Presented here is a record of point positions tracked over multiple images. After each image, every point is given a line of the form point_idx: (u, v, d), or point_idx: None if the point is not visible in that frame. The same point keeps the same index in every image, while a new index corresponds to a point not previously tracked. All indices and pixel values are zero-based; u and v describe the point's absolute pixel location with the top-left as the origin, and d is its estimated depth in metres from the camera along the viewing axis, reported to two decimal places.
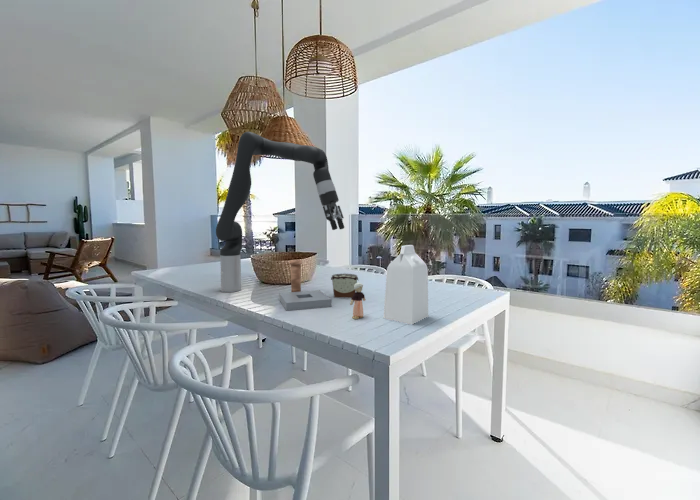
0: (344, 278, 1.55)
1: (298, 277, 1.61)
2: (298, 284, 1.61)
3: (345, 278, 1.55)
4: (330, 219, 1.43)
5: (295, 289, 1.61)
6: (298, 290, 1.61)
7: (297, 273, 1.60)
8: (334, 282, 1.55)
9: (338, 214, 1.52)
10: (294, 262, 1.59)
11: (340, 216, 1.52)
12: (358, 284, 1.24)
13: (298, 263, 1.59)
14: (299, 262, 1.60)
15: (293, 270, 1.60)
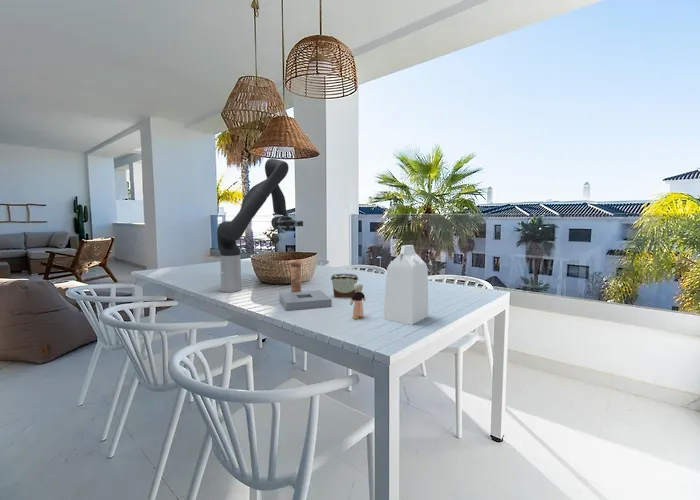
0: (344, 278, 1.55)
1: (298, 277, 1.61)
2: (298, 284, 1.61)
3: (345, 278, 1.55)
4: (301, 223, 1.76)
5: (295, 289, 1.61)
6: (298, 290, 1.61)
7: (297, 273, 1.60)
8: (334, 282, 1.55)
9: (282, 225, 1.75)
10: (294, 262, 1.59)
11: (281, 226, 1.74)
12: (358, 284, 1.24)
13: (298, 263, 1.59)
14: (299, 262, 1.60)
15: (293, 270, 1.60)
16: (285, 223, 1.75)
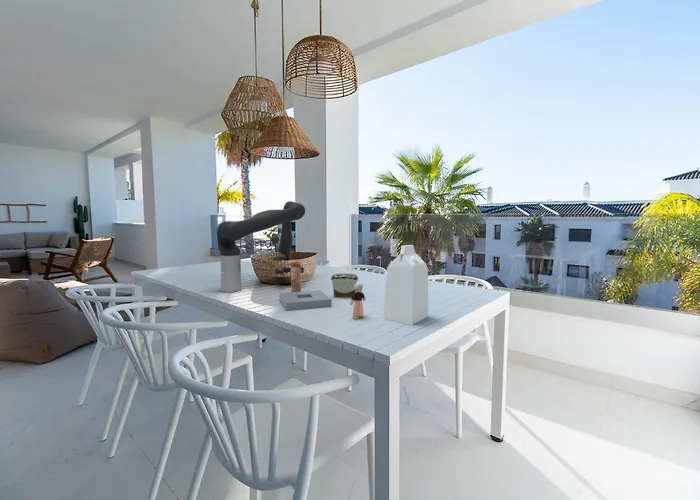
0: (344, 278, 1.55)
1: (298, 277, 1.61)
2: (298, 284, 1.61)
3: (345, 278, 1.55)
4: (302, 270, 1.78)
5: (295, 289, 1.61)
6: (298, 290, 1.61)
7: (297, 273, 1.60)
8: (334, 282, 1.55)
9: None
10: (294, 262, 1.59)
11: None
12: (358, 284, 1.24)
13: (298, 263, 1.59)
14: (299, 262, 1.60)
15: (293, 270, 1.60)
16: (286, 270, 1.77)
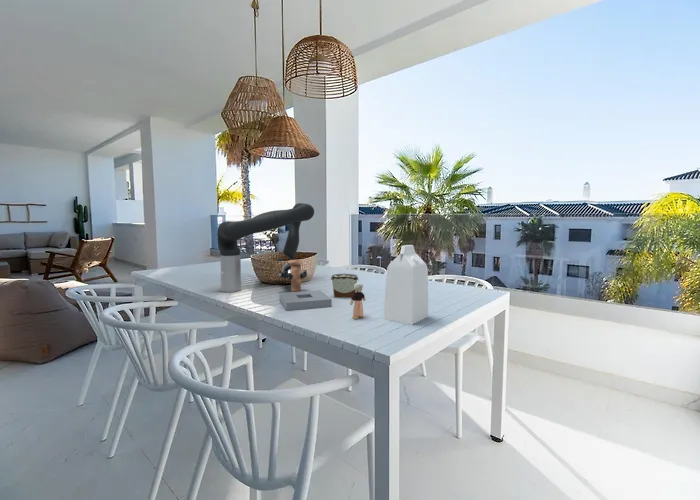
0: (344, 278, 1.55)
1: (298, 277, 1.61)
2: (298, 284, 1.61)
3: (345, 278, 1.55)
4: (304, 274, 1.65)
5: (295, 289, 1.61)
6: (298, 290, 1.61)
7: (297, 273, 1.60)
8: (334, 282, 1.55)
9: None
10: (294, 262, 1.59)
11: None
12: (358, 284, 1.24)
13: (298, 263, 1.59)
14: (299, 262, 1.60)
15: (293, 270, 1.60)
16: None
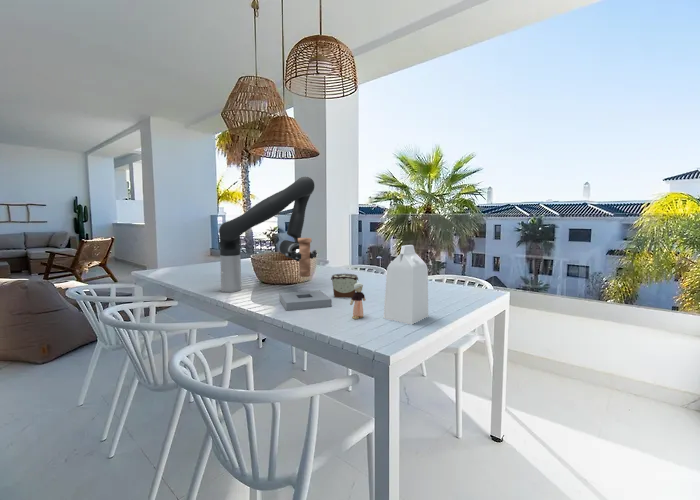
0: (344, 278, 1.55)
1: (307, 257, 1.43)
2: (307, 265, 1.44)
3: (345, 278, 1.55)
4: (314, 254, 1.48)
5: (304, 270, 1.43)
6: (307, 271, 1.44)
7: (306, 252, 1.43)
8: (334, 282, 1.55)
9: None
10: (303, 240, 1.41)
11: None
12: (358, 284, 1.24)
13: (308, 241, 1.42)
14: (309, 240, 1.42)
15: (301, 249, 1.43)
16: None
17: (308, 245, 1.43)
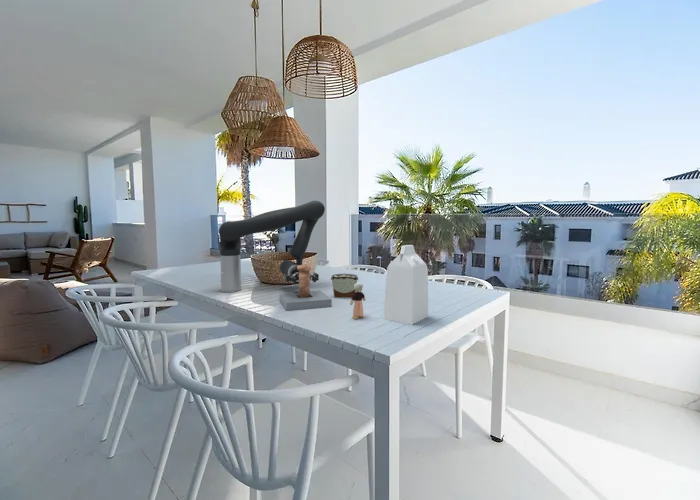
0: (344, 278, 1.55)
1: (307, 284, 1.44)
2: (307, 292, 1.44)
3: (345, 278, 1.55)
4: (316, 277, 1.49)
5: None
6: None
7: (306, 280, 1.43)
8: (334, 282, 1.55)
9: None
10: (303, 268, 1.42)
11: None
12: (358, 284, 1.24)
13: (307, 269, 1.43)
14: (308, 268, 1.43)
15: (301, 277, 1.43)
16: (298, 277, 1.49)
17: (307, 273, 1.44)
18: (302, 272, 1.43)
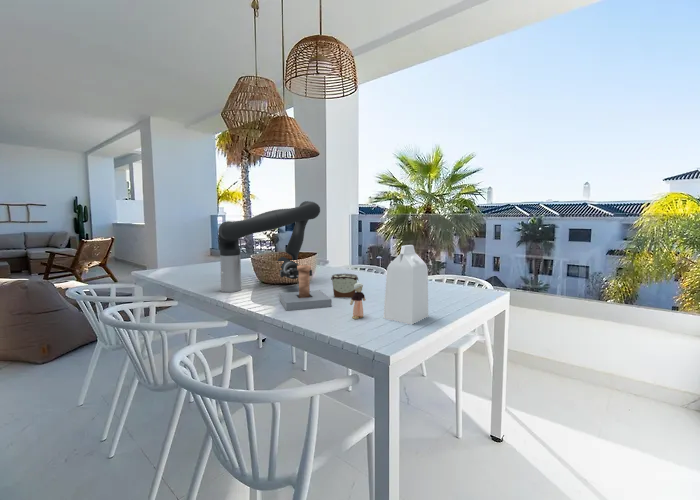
0: (344, 278, 1.55)
1: (307, 284, 1.44)
2: (307, 292, 1.44)
3: (345, 278, 1.55)
4: (310, 273, 1.61)
5: None
6: None
7: (306, 280, 1.43)
8: (334, 282, 1.55)
9: None
10: (302, 268, 1.42)
11: None
12: (358, 284, 1.24)
13: (307, 269, 1.43)
14: (308, 268, 1.43)
15: (301, 277, 1.43)
16: (292, 273, 1.60)
17: (307, 273, 1.44)
18: (302, 272, 1.43)
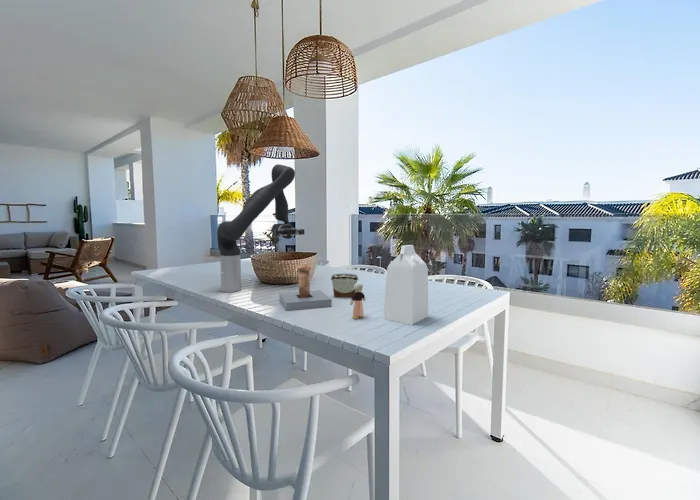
0: (344, 278, 1.55)
1: (307, 284, 1.44)
2: (307, 292, 1.44)
3: (345, 278, 1.55)
4: (302, 232, 1.74)
5: None
6: None
7: (306, 280, 1.43)
8: (334, 282, 1.55)
9: None
10: (302, 268, 1.42)
11: (282, 234, 1.72)
12: (358, 284, 1.24)
13: (307, 269, 1.43)
14: (308, 268, 1.43)
15: (301, 277, 1.43)
16: (286, 231, 1.73)
17: (307, 273, 1.44)
18: (302, 272, 1.43)
